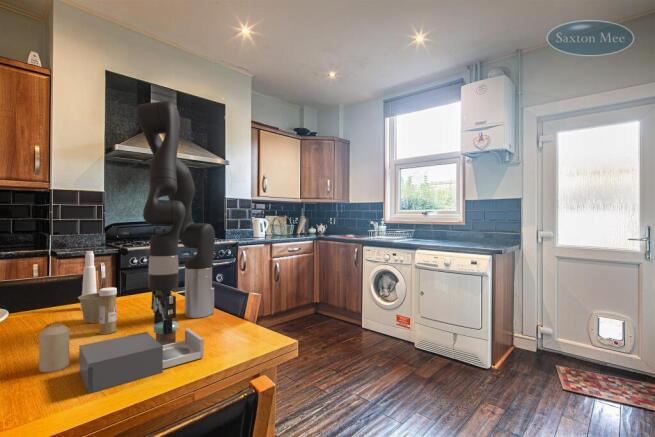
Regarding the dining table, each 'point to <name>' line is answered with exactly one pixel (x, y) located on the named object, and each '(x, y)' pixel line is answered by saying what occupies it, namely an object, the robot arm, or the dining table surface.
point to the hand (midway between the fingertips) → (162, 329)
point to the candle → (54, 348)
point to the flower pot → (90, 307)
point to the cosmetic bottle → (89, 275)
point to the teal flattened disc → (159, 327)
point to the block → (166, 338)
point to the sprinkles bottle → (107, 310)
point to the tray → (183, 350)
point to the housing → (119, 361)
